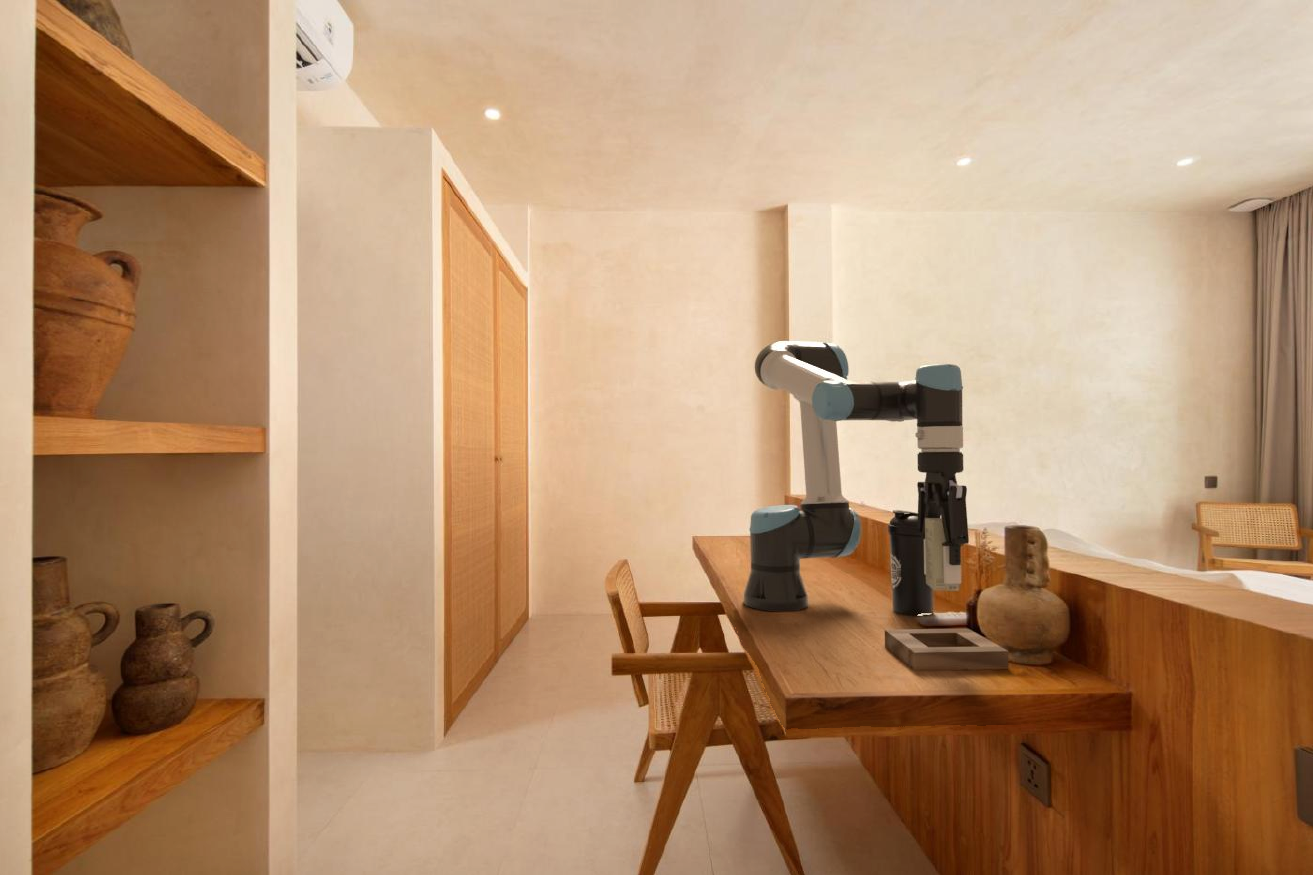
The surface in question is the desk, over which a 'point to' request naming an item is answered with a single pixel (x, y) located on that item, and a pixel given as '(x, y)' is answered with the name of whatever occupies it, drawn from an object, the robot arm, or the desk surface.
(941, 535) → the skincare box
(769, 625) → the desk surface
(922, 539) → the water bottle
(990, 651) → the socket stand
